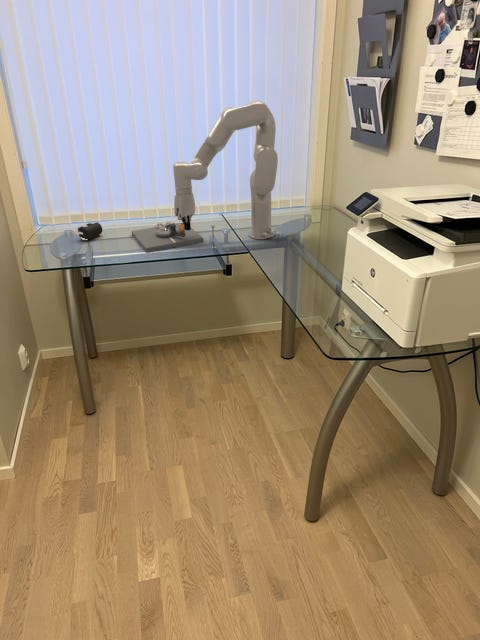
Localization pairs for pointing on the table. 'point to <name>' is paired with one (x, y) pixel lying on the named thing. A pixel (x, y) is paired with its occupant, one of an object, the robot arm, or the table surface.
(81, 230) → the end cap
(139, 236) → the grey square base plate
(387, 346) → the table surface
